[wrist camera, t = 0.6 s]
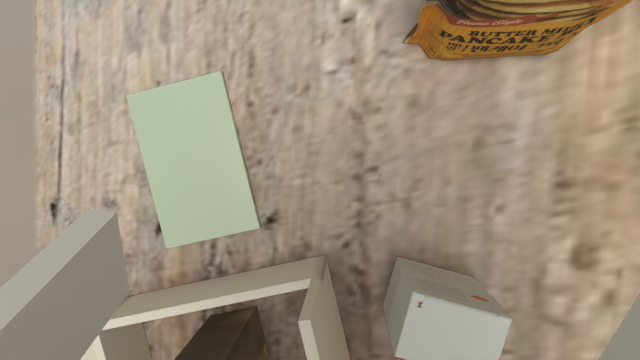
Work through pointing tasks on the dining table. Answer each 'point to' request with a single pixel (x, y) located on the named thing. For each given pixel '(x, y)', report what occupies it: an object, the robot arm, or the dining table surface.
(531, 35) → the pancake mix bag
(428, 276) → the small box
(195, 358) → the box
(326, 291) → the carton
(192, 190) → the sage pad
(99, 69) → the dining table surface
